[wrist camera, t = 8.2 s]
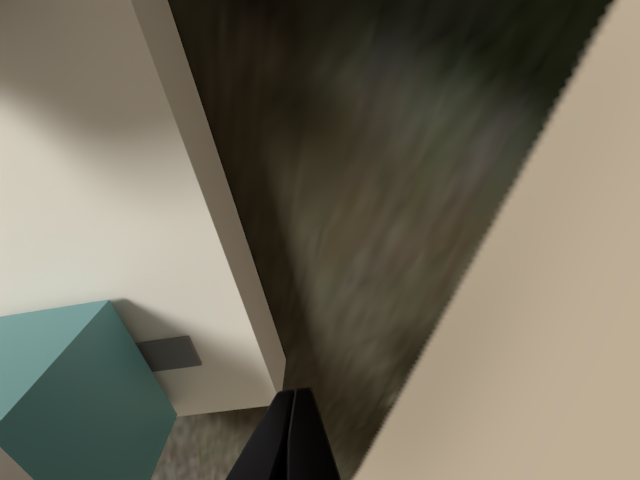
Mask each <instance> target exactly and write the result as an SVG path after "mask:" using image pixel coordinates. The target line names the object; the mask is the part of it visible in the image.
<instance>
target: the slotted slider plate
mask: <svg viewBox="0 0 640 480" xmlns="http://www.w3.org/2000/svg"><path fill="white" fill-rule="evenodd" d="M103 300H110V302H111V303H112V305H113V307H114V308H115V310H116V312H117V313H118V315H119V317H120V318H121V320H122V322H123V324H124V325H125V327H126V329H127V330H128V332H129V334H130V335H131V337H132V339H133V340H134V342H135V344H136V345H137V347H138V349H139V351H140V352H141V354H142V356H143V357H144V359H145V361H146V362H147V364H148V366H149V367H150V369H151V371H152V373H153V374H154V376H155V378H156V379H157V381H158V383H159V384H160V386H161V388H162V389H163V391H164V393H165V394H166V396H167V398H168V400H169V401H170V403H171V405H172V406H173V408H174V410H175V411H176V413H177V416H176V417H179V416H187V415H195V414H204V413H212V412H221V411H229V410H237V409H246V408H254V407H263V406H269V405H270V404H271V402H272V400H273V399H274V397H275V395H276V394H277V393H278V392H279V391H282V388H283V380H284V372H285V364H286V358H285V355H284V352H283V349H282V346H281V343H280V340H279V337H278V334H277V331H276V328H275V325H274V322H273V319H272V316H271V313H270V310H269V307H268V304H267V301H266V298H265V294H264V291H263V288H262V285H261V282H260V279H259V276H258V273H257V270H256V267H255V264H254V261H253V258H252V255H251V252H250V249H249V246H248V243H247V240H246V237H245V234H244V231H243V228H242V225H241V222H240V219H239V216H238V212H237V209H236V206H235V203H234V200H233V197H232V194H231V191H230V188H229V185H228V182H227V179H226V176H225V173H224V170H223V167H222V164H221V161H220V158H219V155H218V152H217V149H216V146H215V143H214V140H213V137H212V134H211V130H210V127H209V124H208V121H207V118H206V115H205V112H204V109H203V106H202V103H201V100H200V97H199V94H198V91H197V88H196V85H195V82H194V79H193V76H192V73H191V70H190V67H189V64H188V61H187V58H186V55H185V52H184V49H183V45H182V42H181V39H180V36H179V33H178V30H177V27H176V24H175V21H174V18H173V15H172V12H171V9H170V6H169V3H168V0H0V317H2V316H8V315H14V314H21V313H27V312H34V311H40V310H46V309H53V308H59V307H65V306H72V305H78V304H84V303H91V302H97V301H103Z"/></svg>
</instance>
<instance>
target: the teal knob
mask: <svg viewBox="0 0 640 480" xmlns="http://www.w3.org/2000/svg"><path fill="white" fill-rule="evenodd" d="M176 416H177V413H176V411H175V410H174V408H173V406H172V405H171V403H170V401H169V400H168V398H167V396H166V394H165V393H164V391H163V389H162V388H161V386H160V384H159V383H158V381H157V379H156V378H155V376H154V374H153V373H152V371H151V369H150V367H149V366H148V364H147V362H146V361H145V359H144V357H143V356H142V354H141V352H140V351H139V349H138V347H137V345H136V344H135V342H134V340H133V339H132V337H131V335H130V334H129V332H128V330H127V329H126V327H125V325H124V324H123V322H122V320H121V318H120V317H119V315H118V313H117V312H116V310H115V308H114V307H113V305H112V303H111V302H110V300H103V301H97V302H91V303H84V304H78V305H72V306H65V307H59V308H53V309H46V310H40V311H34V312H27V313H21V314H14V315H8V316H2V317H0V480H150V479H151V477H152V474H153V472H154V469H155V467H156V465H157V462H158V460H159V457H160V455H161V453H162V450H163V448H164V445H165V443H166V440H167V438H168V436H169V433H170V431H171V428H172V426H173V424H174V421H175V419H176Z"/></svg>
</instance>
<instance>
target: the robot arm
mask: <svg viewBox="0 0 640 480" xmlns="http://www.w3.org/2000/svg"><path fill="white" fill-rule="evenodd" d="M226 480H341V478H340V475H339V472H338V469H337V465H336V462H335V459H334V456H333V453H332V450H331V447H330V444H329V440H328V437H327V434H326V431H325V428H324V425H323V422H322V419H321V415H320V412H319V409H318V406H317V403H316V400H315V397H314V394H313V391H312V388H310V387H307V388H299V389H296V390H292V389H291V390H283V391H279V392H278V393H277V394H276V395H275V397H274V399H273V400H272V402H271V404H270V405H269V407H268V409H267V410H266V412H265V414H264V415H263V417H262V419H261V421H260V422H259V424H258V426H257V427H256V429H255V431H254V432H253V434H252V436H251V437H250V439H249V441H248V443H247V444H246V446H245V448H244V449H243V451H242V453H241V454H240V456H239V458H238V460H237V461H236V463H235V465H234V466H233V468H232V470H231V471H230V473H229V475H228V476H227V478H226Z"/></svg>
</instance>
